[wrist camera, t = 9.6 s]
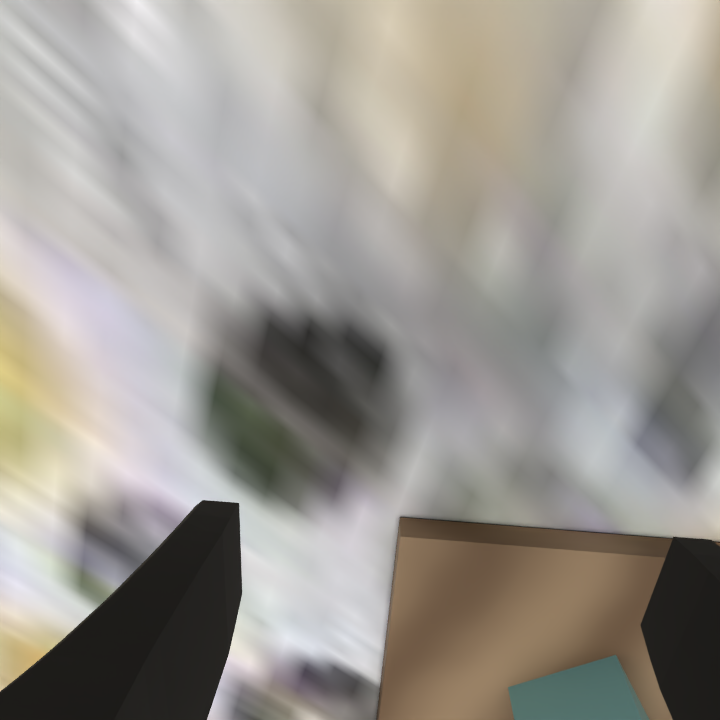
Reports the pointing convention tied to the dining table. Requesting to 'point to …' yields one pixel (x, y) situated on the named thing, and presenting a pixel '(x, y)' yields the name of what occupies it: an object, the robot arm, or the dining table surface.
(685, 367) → the dining table surface
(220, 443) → the dining table surface
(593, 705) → the teal square sleeve
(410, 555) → the shaft base
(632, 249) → the dining table surface
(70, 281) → the dining table surface
